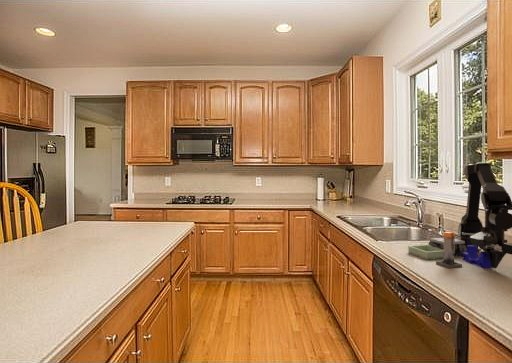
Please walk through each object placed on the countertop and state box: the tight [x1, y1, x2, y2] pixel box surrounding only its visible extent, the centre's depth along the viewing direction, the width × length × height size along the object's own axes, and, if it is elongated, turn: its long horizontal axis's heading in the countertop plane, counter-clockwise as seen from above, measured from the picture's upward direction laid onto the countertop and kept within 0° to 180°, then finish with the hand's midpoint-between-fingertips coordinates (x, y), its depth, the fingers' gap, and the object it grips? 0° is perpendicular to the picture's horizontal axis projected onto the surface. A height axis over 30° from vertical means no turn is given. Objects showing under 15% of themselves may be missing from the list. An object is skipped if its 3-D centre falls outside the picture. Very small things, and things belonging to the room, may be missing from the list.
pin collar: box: [435, 260, 463, 269], centre depth 127 cm, size 6×6×1 cm
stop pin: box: [443, 231, 456, 265], centre depth 127 cm, size 4×4×12 cm
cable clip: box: [462, 245, 493, 269], centre depth 129 cm, size 12×4×6 cm, turn 172°
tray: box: [407, 244, 444, 261], centre depth 142 cm, size 9×12×3 cm
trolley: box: [427, 237, 467, 256], centre depth 145 cm, size 13×12×6 cm
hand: (494, 268), depth 120 cm, fingers closed
